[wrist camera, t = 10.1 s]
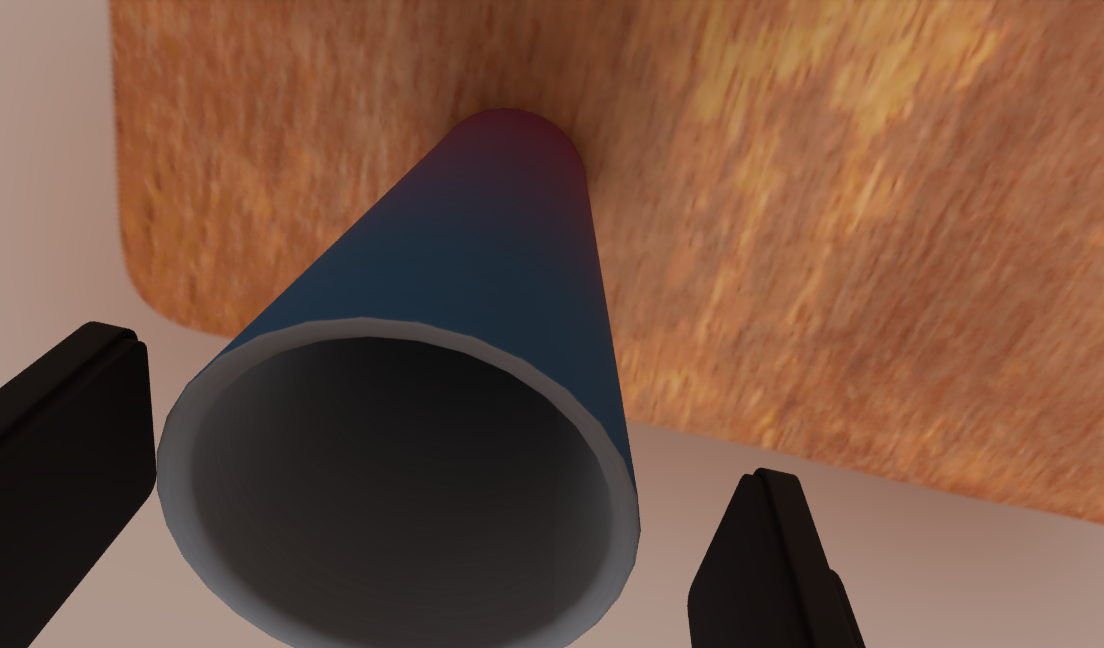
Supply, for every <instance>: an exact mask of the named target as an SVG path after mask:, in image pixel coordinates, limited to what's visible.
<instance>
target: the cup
mask: <svg viewBox="0 0 1104 648" xmlns="http://www.w3.org/2000/svg"><path fill="white" fill-rule="evenodd" d="M157 491H158V494H159V498H160V502H161V506H162V509H163V513H164V517H165V521H166V524H167V526H168V528H169V530H170V532H171V534H172V536H173V538H174V540H175V542H176V543H177V546H178V547H179V549H180V551H181V553H182V555H183V557H184V558H185V560H186V561H187V562H188V563H189V565H190V566H191V567H192V568H193V570H194V571H195V572H196V573H197V575H198V576H199V577H200V578H201V580H202V581H203V582H204V583H205V585H206V586H207V587H208V588H209V589H210V590H211V591H212V592H213V593H214V594H216V595H217V596H218V597H219V598H220V599H221V600H222V601H224V603H226V604H227V605H228V606H229V607H230V608H231V609H232V610H233V611H235V612H236V613H237V614H238V615H240V616H241V617H243V618H244V619H246V620H247V621H249V622H250V623H252V624H253V625H255V626H256V627H258V628H259V629H261V630H262V631H264V632H265V633H267V634H268V635H270V636H271V637H273V638H275V639H277V640H280V641H281V642H284V643H286V644H288V645H290V646H292V647H294V648H564V647H566V646H568V645H570V644H571V643H572V642H573V641H575V640H576V639H578V638H579V637H580V636H581V635H583V634H584V633H585V632H586V631H588V630H589V629H590V628H592V627H593V626H594V625H595V624H597V623H598V622H599V621H600V619H601V618H602V617H603V616H604V615H605V613H606V612H607V611H608V610H609V609H610V607H611V606H612V605H613V604H614V602H615V601H616V600H617V599H618V598H619V596H620V594H621V592H622V590H623V588H624V586H625V584H626V582H627V579H628V578H629V575H630V573H631V571H632V569H633V567H634V565H635V560H636V554H637V549H638V543H639V537H640V532H641V528H640V517H639V506H638V494H637V489H636V482H635V476H634V470H633V464H632V458H631V452H630V445H629V439H628V433H627V427H626V421H625V415H624V409H623V403H622V397H621V390H620V384H619V378H618V372H617V366H616V360H615V354H614V348H613V341H612V335H611V329H610V323H609V317H608V311H607V305H606V299H605V292H604V286H603V280H602V274H601V268H600V262H599V256H598V250H597V243H596V237H595V231H594V225H593V219H592V213H591V207H590V201H589V195H588V188H587V182H586V176H585V171H584V168H583V165H582V161H581V158H580V156H579V154H578V152H577V151H576V149H575V147H574V145H573V144H572V142H571V141H570V140H569V139H568V138H567V136H566V135H565V134H564V133H563V132H562V131H561V130H560V129H558V128H557V127H556V126H555V125H553V124H552V123H551V122H550V121H548V120H546V119H544V118H542V117H540V116H538V115H536V114H533V113H530V112H526V111H523V110H518V109H506V108H503V109H495V110H487V111H485V112H482V113H479V114H476V115H473V116H471V117H470V118H468V119H466V120H464V121H463V122H461V123H460V124H459V125H457V126H456V127H455V128H454V129H453V130H452V131H451V132H450V133H449V134H448V135H447V136H446V137H445V138H444V139H443V140H442V141H440V142H439V143H438V144H437V145H436V146H435V147H434V148H433V149H432V150H431V151H430V152H429V153H428V154H427V155H426V156H425V157H424V158H423V159H422V160H421V161H420V162H419V163H418V164H416V165H415V166H414V167H413V168H412V169H411V170H410V171H409V172H408V173H407V174H406V175H405V176H404V177H403V178H402V179H401V180H400V181H399V182H398V183H397V184H396V185H395V186H394V187H392V188H391V189H390V190H389V191H388V192H387V193H386V194H385V195H384V196H383V197H382V198H381V199H380V200H379V201H378V202H377V203H376V204H375V205H374V206H373V207H372V208H371V209H370V210H368V211H367V212H366V213H365V214H364V215H363V216H362V217H361V218H360V219H359V220H358V221H357V222H356V223H355V224H354V225H353V226H352V227H351V228H350V229H349V230H348V231H347V232H346V233H344V234H343V235H342V236H341V237H340V238H339V239H338V240H337V241H336V242H335V243H334V244H333V245H332V246H331V247H330V248H329V249H328V250H327V251H326V252H325V253H324V254H323V255H322V256H320V257H319V258H318V259H317V260H316V261H315V262H314V263H313V264H312V265H311V266H310V267H309V268H308V269H307V270H306V271H305V272H304V273H303V274H302V275H301V276H300V277H299V278H298V279H296V280H295V281H294V282H293V283H292V284H291V285H290V286H289V287H288V288H287V289H286V290H285V291H284V292H283V293H282V294H281V295H280V296H279V297H278V298H277V299H276V300H275V301H274V302H272V303H271V304H270V305H269V306H268V307H267V308H266V309H265V310H264V311H263V312H262V313H261V314H260V315H259V316H258V317H257V318H256V319H255V320H254V321H253V322H252V323H251V324H250V325H248V326H247V327H246V328H245V329H244V330H243V331H242V332H241V333H240V334H239V335H238V336H237V337H236V338H235V339H234V340H233V341H232V342H231V343H230V344H229V345H228V346H227V347H226V348H225V349H223V351H221V352H220V353H219V354H218V355H217V356H216V357H215V358H214V359H213V360H212V361H211V362H210V363H209V364H208V365H207V366H206V367H205V368H204V369H203V370H202V371H200V372H199V373H198V375H196V376H195V377H194V378H193V379H192V380H191V381H190V382H189V383H188V384H187V386H186V387H185V389H184V390H183V392H182V394H181V395H180V397H179V398H178V400H177V401H176V403H175V405H174V406H173V408H172V409H171V411H170V413H169V414H168V416H167V418H166V422H165V426H164V429H163V433H162V436H161V440H160V443H159V447H158V450H157Z"/></svg>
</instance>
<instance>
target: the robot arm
mask: <svg viewBox="0 0 1104 648" xmlns="http://www.w3.org/2000/svg"><path fill="white" fill-rule="evenodd" d="M156 476H157V471H156V458H155V446H154V432H153V418H152V405H151V393H150V379H149V366H148V353H147V347H146V345H145V343H143V342H141V341H138V339H137V335H136V334H135V332H134V331H132V330H131V329H127V328H122V327H118V326H113V325H109V324H104V323H100V322H95V321H93V322H88V323H86V324H84V325H83V326H81V327H80V328H79V329H77V330H76V331H75V332H73V333H72V334H71V335H69V336H68V337H67V338H65V339H64V340H63V341H62V342H60V343H59V344H58V345H56V346H55V347H54V348H52V349H51V350H50V351H48V352H47V353H46V354H44V355H43V356H42V357H41V358H39V359H38V360H37V361H35V362H34V363H33V364H31V365H30V366H29V367H27V368H26V369H25V370H23V371H22V372H21V373H19V374H18V375H17V376H16V377H14V378H13V379H12V380H10V381H9V382H8V383H6V384H5V385H4V386H2V387H1V388H0V648H28V647H29V645H30V644H31V643H32V642H33V640H34V639H35V638H36V637H37V635H38V634H39V633H40V632H41V630H42V629H43V628H44V627H45V625H46V624H47V623H48V622H49V620H50V619H51V618H52V617H53V616H54V614H55V613H56V612H57V611H58V609H59V608H60V607H61V605H62V604H63V603H64V602H65V601H66V599H67V598H68V597H69V596H70V594H71V593H72V592H73V591H74V589H75V588H76V587H77V586H78V584H79V583H80V582H81V581H82V579H83V578H84V577H85V576H86V574H87V573H88V572H89V571H90V569H91V568H92V567H93V566H94V565H95V563H96V562H97V561H98V560H99V558H100V557H101V556H102V555H103V553H104V552H105V551H106V549H107V548H108V547H109V546H110V545H111V543H112V542H113V541H114V540H115V538H116V537H117V536H118V535H119V533H120V532H121V531H122V530H123V528H124V527H125V526H126V525H127V523H128V522H129V521H130V520H131V519H132V517H133V516H134V515H135V513H136V512H137V511H138V510H139V509H140V507H141V506H142V505H143V504H144V502H145V501H146V500H147V498H148V497H149V495H150V494H151V492H152V490H153V488H154V485H155V482H156ZM687 607H688V618H689V627H690V636H691V644H692V648H866V647H865V645H864V642H863V639H862V636H861V633H860V631H859V628H858V625H857V622H856V619H855V616H854V614H853V611H852V608H851V605H850V602H849V600H848V597H847V594H846V591H845V589H844V586H843V583H842V581H841V579H840V577H839V575H838V574H837V573H836V572H835V571H833V570H831V569H830V568H829V565H828V563H827V559H826V557H825V554H824V551H823V548H822V545H821V542H820V539H819V536H818V533H817V530H816V528H815V525H814V522H813V519H812V516H811V513H810V510H809V507H808V504H807V501H806V499H805V495H804V493H803V490H802V487H801V484H800V481H799V480H798V477H797V476H795V475H793V474H788V473H784V472H779V471H774V470H770V469H766V468H758V469H757V470H756V471H755V472H754V474H753V475H750V474H744V475H743V476H742V478H741V479H740V481H739V484H738V486H737V488H736V490H735V492H734V494H733V496H732V499H731V501H730V503H729V505H728V507H727V510H726V512H725V514H724V516H723V518H722V520H721V522H720V525H719V527H718V529H717V531H716V533H715V535H714V537H713V540H712V542H711V544H710V546H709V548H708V550H707V552H706V555H705V557H704V559H703V561H702V563H701V565H700V568H699V570H698V572H697V574H696V576H695V578H694V581H693V583H692V585H691V588H690V591H689V595H688V605H687Z"/></svg>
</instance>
